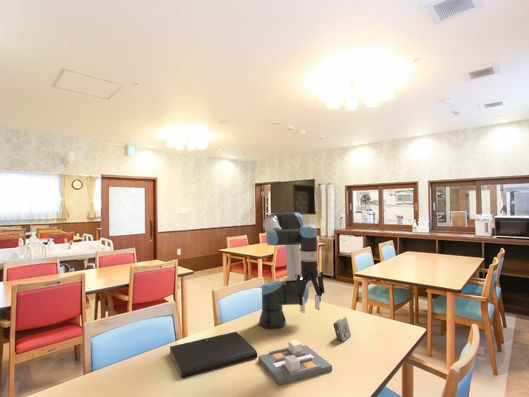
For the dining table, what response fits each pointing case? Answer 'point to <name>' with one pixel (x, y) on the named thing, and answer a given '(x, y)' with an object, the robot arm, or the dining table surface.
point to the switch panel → (308, 364)
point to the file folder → (211, 353)
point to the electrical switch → (342, 329)
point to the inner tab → (295, 347)
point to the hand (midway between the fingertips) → (310, 310)
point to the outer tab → (292, 363)
